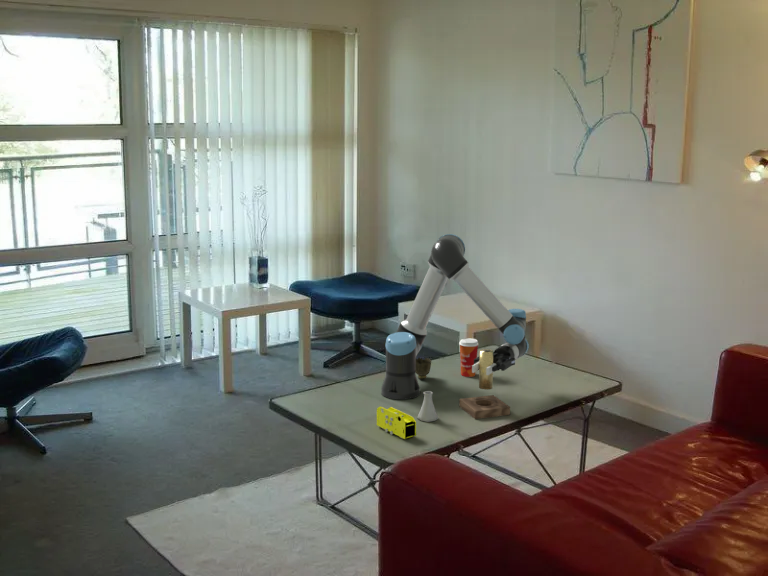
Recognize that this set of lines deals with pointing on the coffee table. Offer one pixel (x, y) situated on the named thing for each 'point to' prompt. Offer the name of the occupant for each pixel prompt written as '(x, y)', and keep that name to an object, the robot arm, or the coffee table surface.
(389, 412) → the yellow toy chassis
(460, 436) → the coffee table surface
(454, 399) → the coffee table surface
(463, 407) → the jig plate
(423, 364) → the cup
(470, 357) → the coffee cup
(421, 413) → the flask
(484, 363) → the cylinder
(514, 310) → the robot arm
